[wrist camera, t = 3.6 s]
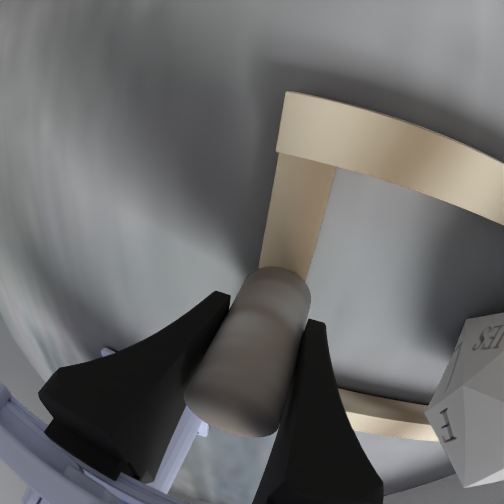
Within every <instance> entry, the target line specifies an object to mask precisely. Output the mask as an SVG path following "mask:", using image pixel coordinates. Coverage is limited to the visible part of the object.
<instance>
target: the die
mask: <svg viewBox="0 0 504 504" xmlns="http://www.w3.org/2000/svg"><path fill="white" fill-rule="evenodd" d="M424 414H425V416H426V417H427V419H428V421H429V423H430V425H431V426H432V428H433V430H434V432H435V434H436V436H437V437H438V439H439V441H440V443H441V445H442V447H443V449H444V450H445V452H446V454H447V456H448V458H449V460H450V462H451V464H452V466H453V468H454V470H455V472H456V474H457V476H458V478H459V480H460V482H461V484H462V486H463V488H467V487H473V486H478V485H484V484H488V483H493V482H498V481H502V480H504V312H503V313H498V314H493V315H487V316H482V317H476V318H470V319H466V321H465V323H464V326H463V329H462V331H461V334H460V337H459V339H458V342H457V344H456V347H455V349H454V354H453V356H452V357H451V359H450V361H449V363H448V366H447V368H446V370H445V372H444V374H443V377H442V379H441V381H440V383H439V385H438V387H437V389H436V391H435V393H434V395H433V397H432V399H431V401H430V403H429V405H428V407H427V409H426V410H425V412H424Z"/></svg>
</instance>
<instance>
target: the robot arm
mask: <svg viewBox="0 0 504 504" xmlns="http://www.w3.org/2000/svg"><path fill="white" fill-rule="evenodd" d="M230 298H231V295H228V294H225V293H222V292H218V291H214V292H213V293H211V294H210V295H209V296H208V297H207V298H205V299H204V300H203V301H202V302H200V303H199V304H198V305H197V306H195V307H194V308H193V309H191V310H190V311H189V312H187V313H186V314H184V315H183V316H182V317H180V318H179V319H177V320H176V321H174V322H173V323H171V324H170V325H168V326H167V327H165V328H163V329H162V330H160V331H159V332H157V333H155V334H154V335H152V336H150V337H148V338H146V339H144V340H142V341H140V342H138V343H136V344H134V345H132V346H130V347H127V348H125V349H123V350H121V351H118V352H114V351H112V350H110V349H108V348H103V349H102V350H101V353H102V356H103V357H101V358H98V359H95V360H92V361H88V362H85V363H80V364H76V365H71V366H67V367H61V368H59V369H58V370H57V371H56V372H55V373H54V374H53V375H52V376H51V377H50V379H49V380H48V381H47V382H46V383H45V385H44V386H43V387H42V389H41V390H40V391H39V392H38V394H39V398H40V400H41V402H42V403H43V405H44V406H45V407H46V409H47V410H48V411H49V413H50V414H51V415H52V416H53V418H54V419H53V420H52V421H51V423H50V424H49V425H47V424H46V423H45V422H43V421H42V420H41V419H39V418H38V417H37V416H36V415H34V414H33V413H32V412H31V411H29V410H28V409H27V408H26V407H24V406H23V405H22V404H21V403H20V402H19V401H18V400H16V399H15V398H14V397H13V396H12V395H11V393H10V391H9V390H8V389H7V387H6V386H5V385H4V384H3V383H2V382H1V381H0V459H1V460H2V461H3V462H4V463H5V464H6V465H7V466H8V467H9V468H10V469H11V470H12V471H13V472H14V473H15V474H16V475H17V476H18V477H19V478H20V479H21V480H22V481H23V482H24V483H26V484H27V485H28V487H27V489H26V491H25V493H24V495H23V497H22V503H21V504H190V503H187V502H185V501H182V500H180V499H177V498H175V497H172V496H170V495H168V494H167V493H168V491H169V489H170V487H171V485H172V483H173V481H174V479H175V477H176V475H177V473H178V471H179V469H180V467H181V465H182V463H183V461H184V459H185V457H186V455H187V453H188V451H189V449H190V447H191V444H192V442H193V440H194V438H195V436H196V434H198V435H200V436H204V437H206V436H207V435H208V430H209V424H207V423H205V422H204V421H202V420H201V419H199V418H198V417H197V416H196V415H195V414H194V413H193V412H192V411H191V410H190V409H189V408H188V406H187V405H186V403H185V400H184V392H185V390H186V388H187V387H188V385H189V383H190V381H191V379H192V377H193V376H194V374H195V372H196V370H197V368H198V366H199V365H200V363H201V361H202V359H203V357H204V355H205V354H206V352H207V350H208V348H209V346H210V344H211V343H212V341H213V339H214V337H215V335H216V333H217V331H218V330H219V328H220V326H221V324H222V322H223V320H224V319H225V317H226V315H227V313H228V311H229V305H230ZM383 499H384V495H383V481H382V480H381V478H380V477H379V476H378V474H377V473H376V471H375V469H374V468H373V466H372V465H371V463H370V461H369V460H368V458H367V456H366V454H365V452H364V451H363V449H362V447H361V445H360V443H359V441H358V439H357V437H356V435H355V432H354V430H353V428H352V426H351V424H350V421H349V419H348V416H347V414H346V411H345V409H344V406H343V403H342V400H341V397H340V394H339V391H338V387H337V384H336V380H335V376H334V372H333V368H332V363H331V359H330V354H329V348H328V342H327V333H326V325H325V323H323V322H319V321H316V320H312V319H308V322H307V324H306V327H305V330H304V333H303V337H302V341H301V345H300V349H299V354H298V358H297V362H296V366H295V370H294V374H293V378H292V381H291V385H290V389H289V392H288V396H287V400H286V403H285V407H284V410H283V414H282V417H281V421H280V425H279V429H278V433H277V436H276V439H275V442H274V445H273V448H272V451H271V454H270V457H269V460H268V463H267V465H266V468H265V471H264V474H263V477H262V479H261V482H260V485H259V487H258V490H257V492H256V495H255V497H254V500H253V502H252V504H383Z"/></svg>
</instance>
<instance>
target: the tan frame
mask: <svg viewBox="0 0 504 504" xmlns="http://www.w3.org/2000/svg"><path fill="white" fill-rule="evenodd" d="M276 152H279V156H278V161H277V167H276V173H275V178H274V184H273V189H272V195H271V200H270V206H269V212H268V217H267V223H266V228H265V233H264V239H263V244H262V250H261V255H260V261H259V266H258V269H257V270H255V271H253V272H252V273H251V274H249V275H248V277H247V278H246V280H245V281H244V283H243V285H242V287H241V289H240V291H239V293H238V294H237V296H236V298H235V300H234V302H233V304H232V306H231V307H230V309H229V311H228V313H227V315H226V317H225V319H224V320H223V322H222V324H221V326H220V328H219V330H218V331H217V333H216V335H215V337H214V339H213V341H212V343H211V344H210V346H209V348H208V350H207V352H206V354H205V355H204V357H203V359H202V361H201V363H200V365H199V366H198V368H197V370H196V372H195V374H194V376H193V377H192V379H191V381H190V383H189V385H188V387H187V388H186V390H185V392H184V400H185V403H186V405H187V406H188V408H189V409H190V410H191V411H192V412H193V413H194V414H195V415H196V416H197V417H198V418H199V419H201V420H202V421H204V422H205V423H207V424H209V425H210V426H212V427H214V428H216V429H219V430H221V431H224V432H226V433H229V434H233V435H237V436H242V437H253V438H255V437H265V436H268V435H271V434H273V433H274V432H276V431H277V429H278V427H279V424H280V421H281V417H282V414H283V410H284V407H285V403H286V400H287V396H288V392H289V389H290V385H291V381H292V378H293V374H294V370H295V366H296V362H297V358H298V354H299V349H300V345H301V341H302V337H303V333H304V330H305V325H306V321H307V317H308V312H309V308H310V303H311V294H310V291H309V288H308V286H307V285H306V283H305V280H306V277H307V274H308V270H309V267H310V263H311V260H312V257H313V253H314V250H315V246H316V242H317V239H318V235H319V232H320V228H321V224H322V221H323V217H324V213H325V209H326V206H327V202H328V198H329V194H330V190H331V186H332V182H333V178H334V174H335V170H336V167H340V168H344V169H347V170H351V171H354V172H358V173H361V174H365V175H368V176H371V177H375V178H378V179H381V180H384V181H387V182H391V183H394V184H397V185H400V186H403V187H406V188H409V189H412V190H415V191H418V192H421V193H423V194H426V195H429V196H432V197H435V198H437V199H440V200H443V201H445V202H448V203H451V204H453V205H456V206H458V207H461V208H463V209H466V210H468V211H471V212H473V213H476V214H478V215H481V216H483V217H485V218H488V219H490V220H492V221H495V222H497V223H499V224H501V225H504V163H503V162H502V161H500V160H498V159H496V158H494V157H492V156H490V155H488V154H485V153H483V152H481V151H479V150H477V149H475V148H473V147H470V146H468V145H466V144H464V143H461V142H459V141H457V140H454V139H452V138H450V137H447V136H445V135H442V134H440V133H437V132H435V131H432V130H429V129H427V128H424V127H421V126H419V125H416V124H413V123H410V122H407V121H404V120H402V119H399V118H396V117H392V116H389V115H386V114H383V113H380V112H376V111H373V110H370V109H366V108H363V107H359V106H355V105H352V104H348V103H344V102H340V101H336V100H332V99H328V98H323V97H319V96H314V95H310V94H305V93H300V92H295V91H287V92H286V93H285V99H284V105H283V111H282V117H281V123H280V129H279V134H278V140H277V146H276ZM338 391H339V394H340V397H341V400H342V403H343V406H344V409H345V411H346V414H347V416H348V419H349V421H350V424H351V426H352V428H353V430H355V431H360V432H366V433H372V434H378V435H385V436H392V437H400V438H408V439H417V440H427V441H439V439H438V437H437V436H436V434H435V432H434V430H433V428H432V426H431V425H430V423H429V421H428V419H427V417H426V416H425V414H424V412H425V410H426V409H427V407H428V405H421V404H415V403H408V402H403V401H397V400H391V399H386V398H381V397H376V396H371V395H366V394H361V393H356V392H352V391H347V390H343V389H339V388H338Z"/></svg>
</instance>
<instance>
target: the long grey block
mask: <svg viewBox="0 0 504 504" xmlns="http://www.w3.org/2000/svg"><path fill="white" fill-rule="evenodd" d="M383 504H504V480H502V481H498V482H493V483H488V484H484V485H478V486H473V487H467V488H463V486H462V484H461V482H460V480H459V478H458V476H457V474H456V473H455V474H452V475H450V476H447V477H445V478H442V479H439V480H436V481H433V482H430V483H427V484H424V485H421V486H418V487H415V488H412V489H408V490H405V491H401V492H398V493H394V494H390V495H386V496H384V499H383Z"/></svg>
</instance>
